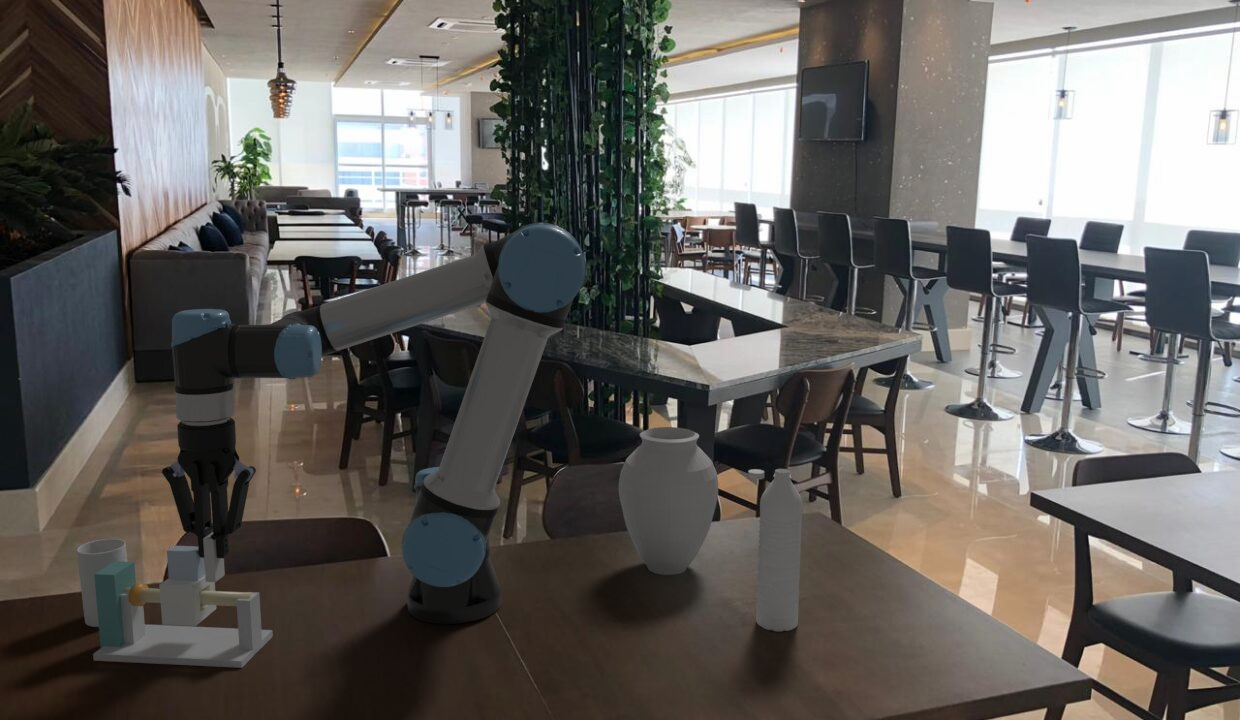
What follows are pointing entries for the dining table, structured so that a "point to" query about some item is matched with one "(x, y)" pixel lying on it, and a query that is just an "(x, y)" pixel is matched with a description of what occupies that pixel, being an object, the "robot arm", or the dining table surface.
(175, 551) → the grey stepped block
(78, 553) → the mug
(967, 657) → the dining table surface
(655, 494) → the vase
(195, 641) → the grey vise fixture
